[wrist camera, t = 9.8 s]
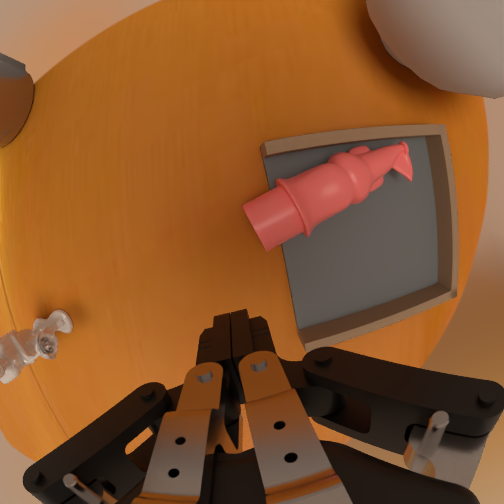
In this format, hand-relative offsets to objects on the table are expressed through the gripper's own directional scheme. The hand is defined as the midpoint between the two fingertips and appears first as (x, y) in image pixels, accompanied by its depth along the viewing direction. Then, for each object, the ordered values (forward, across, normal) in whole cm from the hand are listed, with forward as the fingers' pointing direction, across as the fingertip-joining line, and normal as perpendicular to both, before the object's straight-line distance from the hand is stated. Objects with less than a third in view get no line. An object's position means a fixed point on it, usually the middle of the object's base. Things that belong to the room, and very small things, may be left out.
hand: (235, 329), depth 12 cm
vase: (+13, -23, -18) cm, 32 cm away
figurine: (+13, +21, +2) cm, 25 cm away
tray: (+12, -13, 0) cm, 18 cm away
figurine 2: (+10, -2, -2) cm, 10 cm away
